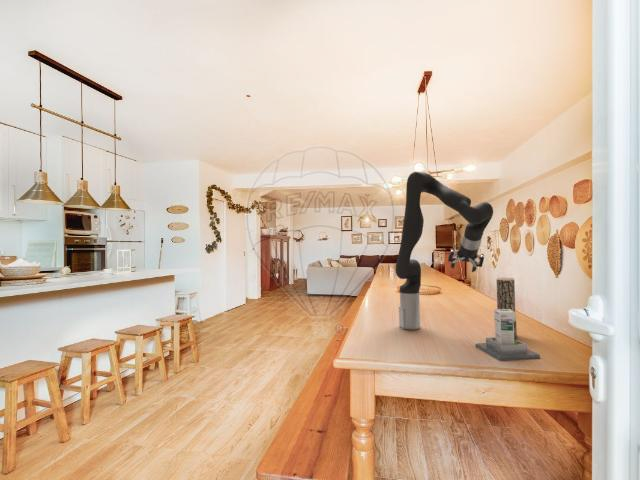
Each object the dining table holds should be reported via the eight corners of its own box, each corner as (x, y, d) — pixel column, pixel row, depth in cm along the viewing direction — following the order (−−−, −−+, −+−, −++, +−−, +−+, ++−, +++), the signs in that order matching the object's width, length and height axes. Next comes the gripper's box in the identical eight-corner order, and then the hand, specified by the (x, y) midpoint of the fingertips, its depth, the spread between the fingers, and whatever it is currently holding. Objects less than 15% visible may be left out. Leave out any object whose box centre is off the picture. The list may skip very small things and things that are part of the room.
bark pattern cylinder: (518, 337, 136) (516, 279, 136) (501, 337, 137) (499, 279, 138) (512, 333, 143) (510, 277, 143) (495, 332, 144) (494, 277, 144)
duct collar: (500, 360, 112) (499, 348, 112) (475, 346, 127) (475, 336, 127) (540, 358, 113) (539, 346, 113) (511, 344, 128) (510, 333, 128)
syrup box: (500, 351, 118) (499, 311, 118) (495, 345, 124) (494, 308, 124) (517, 351, 117) (516, 311, 117) (511, 346, 122) (510, 308, 122)
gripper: (488, 240, 139) (479, 266, 149) (453, 235, 143) (447, 260, 154) (488, 252, 134) (479, 278, 144) (452, 246, 138) (445, 271, 149)
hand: (462, 269), depth 149 cm, fingers open, 8 cm apart
